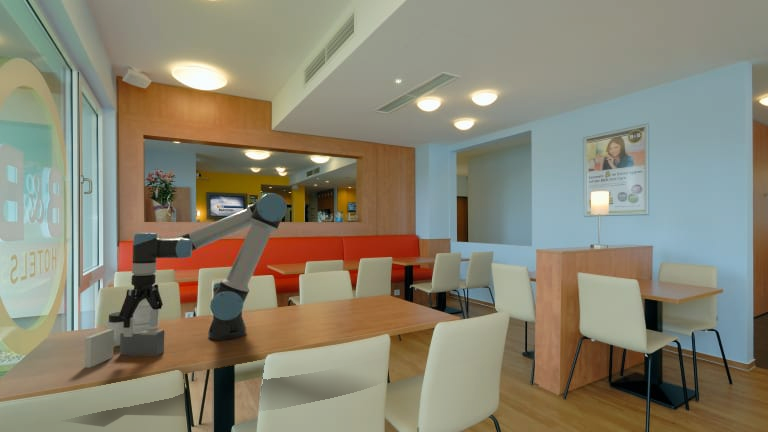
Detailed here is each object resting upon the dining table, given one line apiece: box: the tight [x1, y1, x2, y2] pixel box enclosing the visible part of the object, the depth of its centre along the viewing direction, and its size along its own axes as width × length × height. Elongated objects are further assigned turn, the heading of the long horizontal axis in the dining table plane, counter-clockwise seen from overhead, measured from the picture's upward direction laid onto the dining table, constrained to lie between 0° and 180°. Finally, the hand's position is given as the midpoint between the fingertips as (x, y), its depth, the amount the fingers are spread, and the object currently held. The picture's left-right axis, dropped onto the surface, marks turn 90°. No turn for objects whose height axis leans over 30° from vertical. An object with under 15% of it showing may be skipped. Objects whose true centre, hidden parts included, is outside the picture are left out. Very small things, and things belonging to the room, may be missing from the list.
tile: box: [84, 329, 115, 368], centre depth 129 cm, size 2×10×10 cm, turn 178°
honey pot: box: [133, 299, 160, 331], centre depth 170 cm, size 13×13×18 cm
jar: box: [106, 311, 134, 348], centre depth 149 cm, size 9×8×12 cm
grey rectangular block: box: [119, 328, 165, 357], centre depth 137 cm, size 14×4×8 cm, turn 88°
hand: (141, 331), depth 137 cm, fingers open, 13 cm apart
